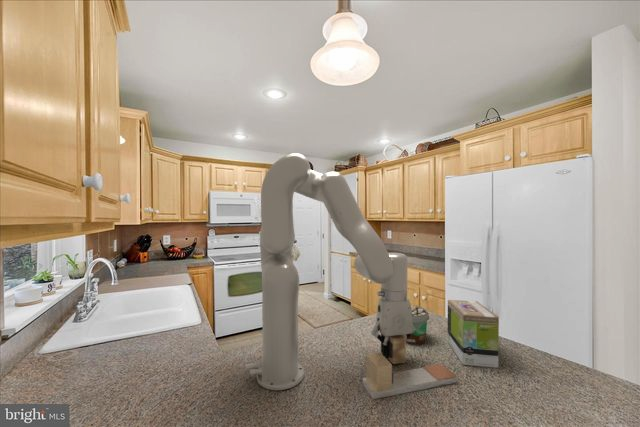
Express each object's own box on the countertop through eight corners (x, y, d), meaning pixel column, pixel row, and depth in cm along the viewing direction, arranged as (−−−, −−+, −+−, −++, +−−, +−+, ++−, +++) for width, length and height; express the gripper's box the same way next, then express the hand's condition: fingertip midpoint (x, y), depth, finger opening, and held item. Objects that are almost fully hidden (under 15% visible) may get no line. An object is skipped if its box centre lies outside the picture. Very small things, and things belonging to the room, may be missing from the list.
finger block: (391, 364, 78) (391, 339, 78) (381, 353, 84) (381, 330, 84) (405, 362, 79) (405, 338, 79) (394, 351, 85) (394, 329, 85)
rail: (373, 399, 64) (372, 367, 64) (362, 383, 70) (362, 354, 70) (457, 382, 71) (457, 353, 71) (441, 369, 76) (441, 343, 76)
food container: (423, 350, 87) (423, 319, 87) (404, 344, 91) (404, 314, 91) (433, 336, 97) (433, 308, 97) (416, 331, 101) (416, 305, 101)
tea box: (500, 368, 77) (500, 316, 77) (462, 365, 79) (462, 314, 79) (478, 343, 92) (477, 299, 92) (446, 341, 93) (446, 298, 93)
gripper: (373, 300, 76) (373, 365, 76) (426, 296, 80) (425, 358, 80) (362, 292, 83) (361, 352, 83) (411, 289, 87) (410, 346, 87)
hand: (393, 354), depth 81 cm, fingers closed on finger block, 4 cm apart
